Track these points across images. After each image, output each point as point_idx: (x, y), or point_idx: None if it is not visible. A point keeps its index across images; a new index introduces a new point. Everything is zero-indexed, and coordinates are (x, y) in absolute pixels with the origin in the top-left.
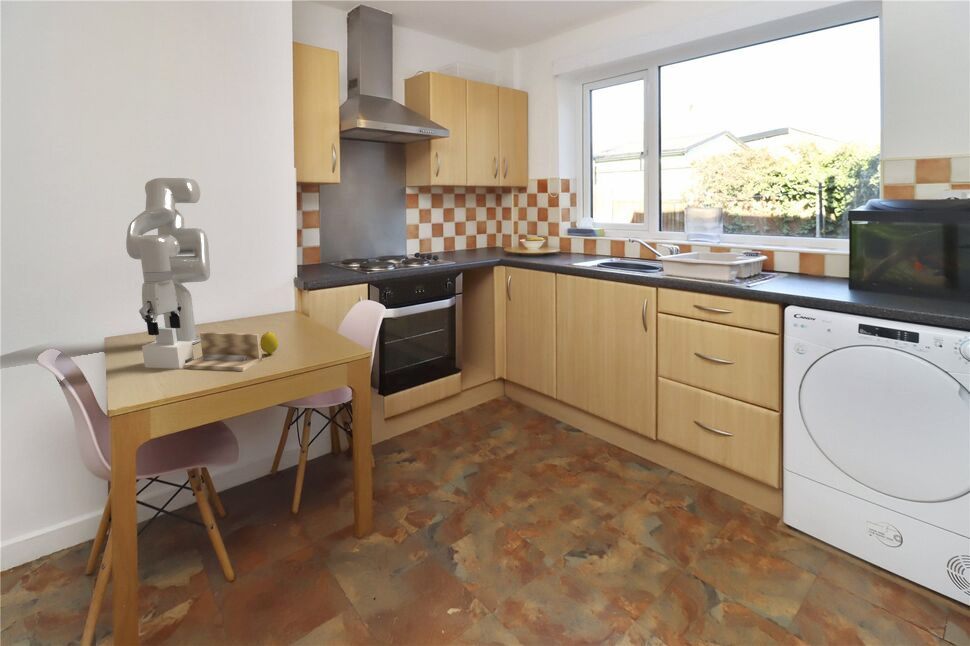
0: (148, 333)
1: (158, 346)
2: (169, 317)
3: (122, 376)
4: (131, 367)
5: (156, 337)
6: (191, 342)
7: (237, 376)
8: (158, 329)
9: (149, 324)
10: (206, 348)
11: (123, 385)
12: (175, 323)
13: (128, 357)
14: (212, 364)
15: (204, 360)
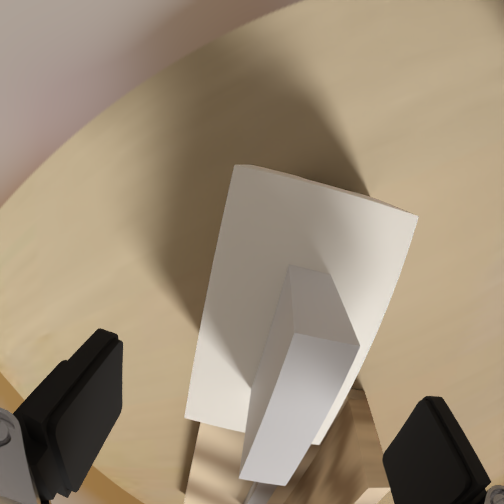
0: (95, 333)
1: (210, 308)
2: (460, 480)
3: (109, 137)
4: (253, 93)
5: (289, 292)
6: (315, 441)
7: (143, 486)
8: (104, 441)
9: (22, 426)
10: (344, 441)
11: (23, 214)
12: (406, 470)
13: (432, 16)
14: (212, 453)
15: None
